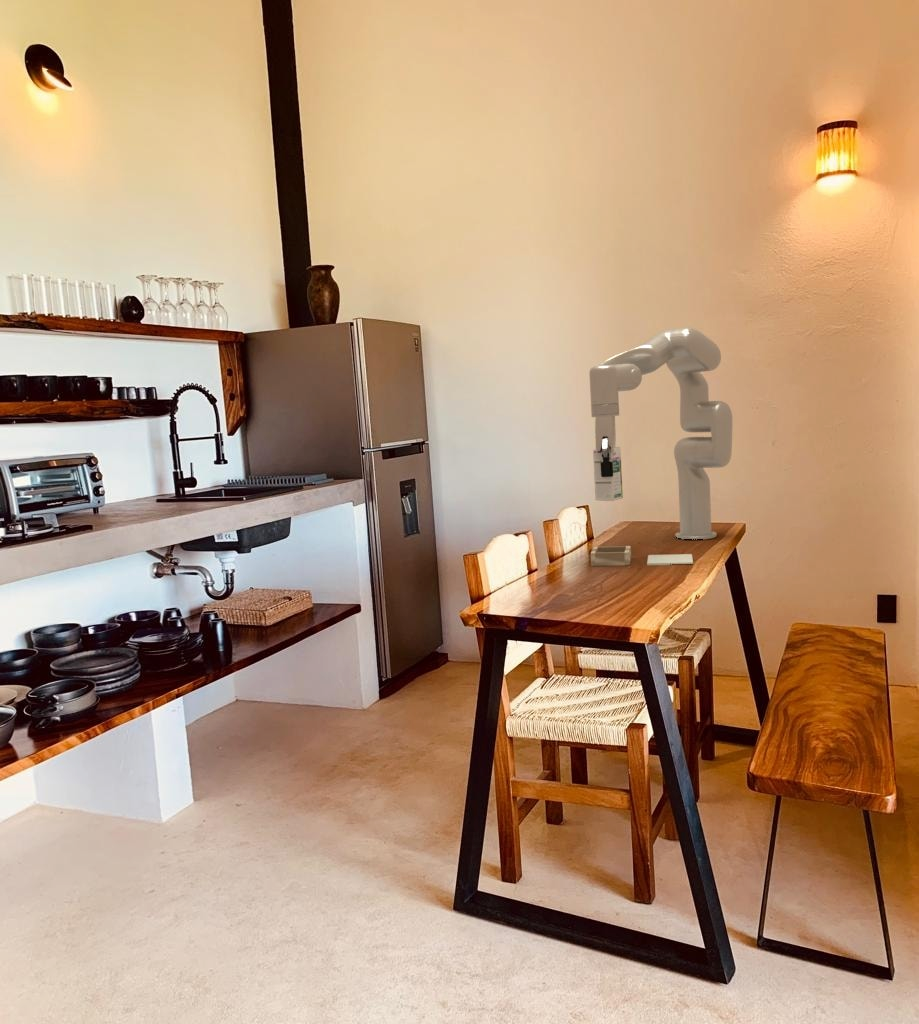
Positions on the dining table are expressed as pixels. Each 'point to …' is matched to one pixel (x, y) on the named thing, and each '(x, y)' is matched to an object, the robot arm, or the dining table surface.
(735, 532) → the dining table surface
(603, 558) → the holder
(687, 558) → the mat
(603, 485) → the syrup box
